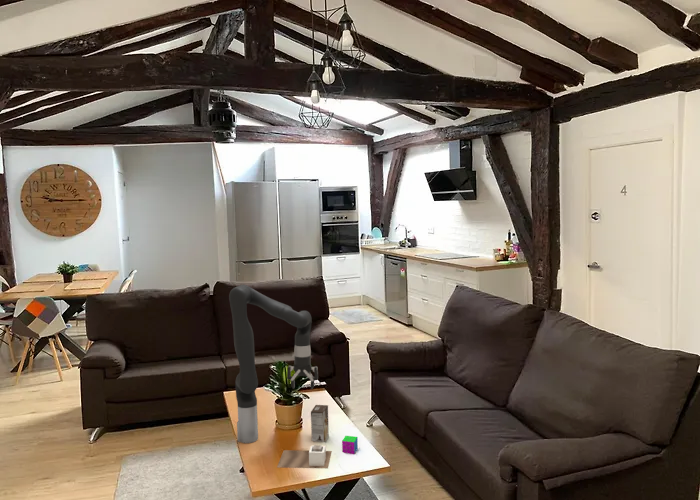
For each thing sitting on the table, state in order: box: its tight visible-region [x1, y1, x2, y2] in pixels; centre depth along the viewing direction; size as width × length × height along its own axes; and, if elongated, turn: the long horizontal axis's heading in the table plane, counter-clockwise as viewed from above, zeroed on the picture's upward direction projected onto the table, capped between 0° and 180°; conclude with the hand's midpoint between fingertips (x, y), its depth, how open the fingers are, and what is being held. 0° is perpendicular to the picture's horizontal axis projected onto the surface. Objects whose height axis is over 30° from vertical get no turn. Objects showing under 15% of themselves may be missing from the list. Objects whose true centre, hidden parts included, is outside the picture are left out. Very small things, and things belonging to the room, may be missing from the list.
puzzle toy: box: [341, 435, 359, 455], centre depth 252 cm, size 6×6×6 cm
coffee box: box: [310, 404, 330, 444], centre depth 263 cm, size 9×6×16 cm
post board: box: [276, 444, 333, 469], centre depth 242 cm, size 22×16×8 cm
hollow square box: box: [308, 445, 327, 466], centre depth 238 cm, size 6×6×6 cm
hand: (302, 388), depth 256 cm, fingers open, 8 cm apart
